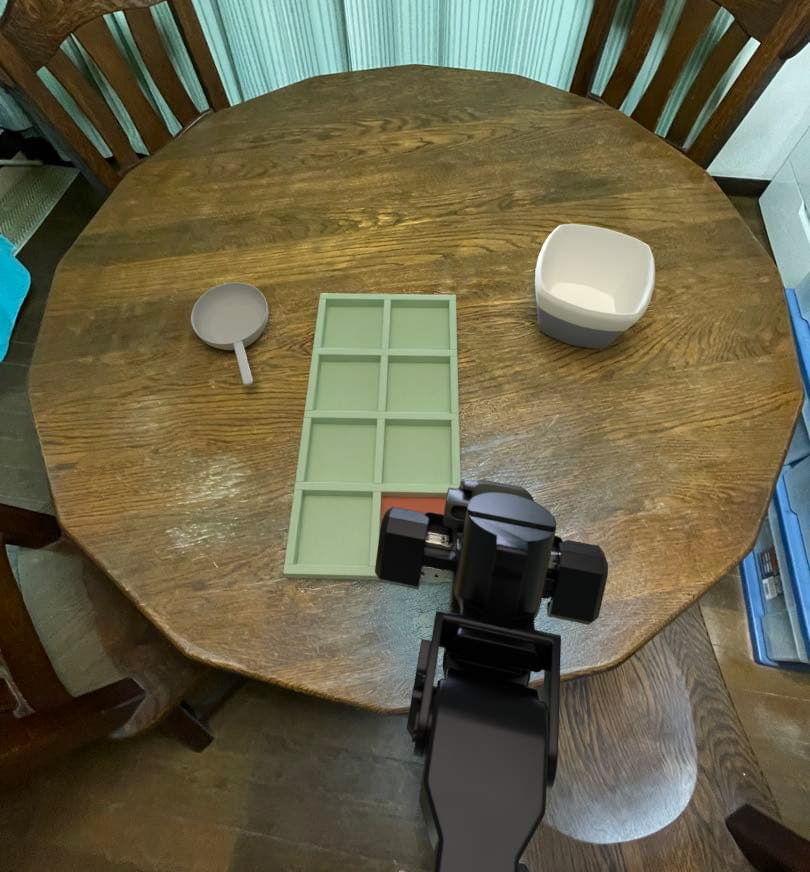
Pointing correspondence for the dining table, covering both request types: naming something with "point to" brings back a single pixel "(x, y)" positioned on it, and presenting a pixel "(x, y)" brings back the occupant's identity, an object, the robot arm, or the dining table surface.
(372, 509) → the grid
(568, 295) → the bowl
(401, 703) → the dining table surface
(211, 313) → the grey frying pan
